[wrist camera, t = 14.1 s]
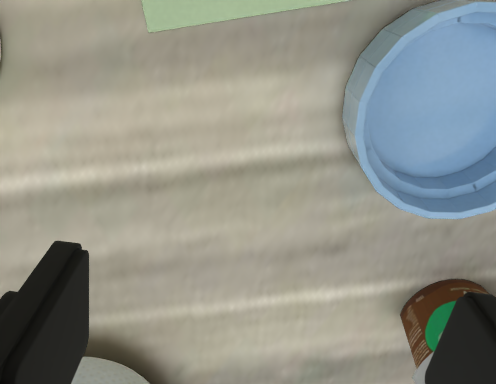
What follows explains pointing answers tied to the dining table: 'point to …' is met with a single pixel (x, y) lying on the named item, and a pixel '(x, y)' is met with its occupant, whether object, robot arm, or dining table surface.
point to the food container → (431, 318)
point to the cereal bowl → (105, 373)
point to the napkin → (214, 10)
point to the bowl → (429, 110)
